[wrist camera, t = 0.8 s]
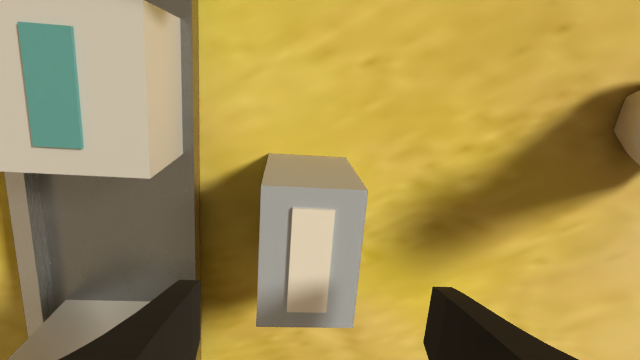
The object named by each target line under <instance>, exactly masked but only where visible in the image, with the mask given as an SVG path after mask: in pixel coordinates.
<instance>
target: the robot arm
mask: <svg viewBox="0 0 640 360" xmlns="http://www.w3.org/2000/svg"><path fill="white" fill-rule="evenodd" d="M199 343H200V280H178V281H177V282H175V283H174V284H173V285H171V286H170V287H169V288H167V289H166V290H165V291H164V292H162V293H161V294H160V295H158V296H157V297H156V298H155V299H153V300H152V301H151V302H149V303H148V304H147V305H145V306H144V307H143V308H141V309H140V310H139V311H137V312H136V313H134V314H133V315H132V316H130V317H129V318H127V319H126V320H124V321H123V322H121V323H120V324H118V325H117V326H115V327H114V328H112V329H111V330H109V331H108V332H106V333H105V334H103V335H101V336H100V337H98V338H97V339H95V340H93V341H91V342H90V343H88V344H86V345H84V346H83V347H81V348H79V349H77V350H75V351H74V352H72V353H70V354H68V355H66V356H64V357H62V358H60V359H58V360H196V356H197V352H198V347H199ZM423 343H424V346H425V349H426V352H427V355H428V359H429V360H578V359H576V358H574V357H572V356H570V355H568V354H566V353H564V352H562V351H560V350H558V349H556V348H554V347H552V346H550V345H548V344H546V343H544V342H542V341H541V340H539V339H537V338H535V337H533V336H532V335H530V334H528V333H526V332H525V331H523V330H521V329H519V328H518V327H516V326H514V325H513V324H511V323H510V322H508V321H506V320H505V319H503V318H501V317H500V316H498V315H497V314H495V313H493V312H492V311H490V310H489V309H487V308H486V307H484V306H482V305H481V304H479V303H478V302H476V301H475V300H473V299H471V298H470V297H468V296H466V295H465V294H463V293H461V292H460V291H458V290H456V289H454V288H452V287H433V289H432V295H431V301H430V306H429V312H428V318H427V324H426V330H425V336H424V342H423Z"/></svg>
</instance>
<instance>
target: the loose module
mask: <svg viewBox="0 0 640 360" xmlns="http://www.w3.org/2000/svg"><path fill="white" fill-rule="evenodd" d="M367 196H368V190H367V188H366V187H365V185H364V184H363V182H362V181H361V179H360V178H359V176H358V175H357V174H356V172H355V171H354V169H353V168H352V166H351V165H350V163H349V162H348V160H347V159H346V158H344V157H326V156H308V155H290V154H272V153H269V155H268V159H267V164H266V168H265V172H264V176H263V180H262V184H261V203H260V232H259V261H258V290H257V319H256V327H322V328H353V323H354V314H355V305H356V296H357V287H358V278H359V269H360V260H361V250H362V241H363V232H364V223H365V214H366V205H367Z"/></svg>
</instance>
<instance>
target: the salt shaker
mask: <svg viewBox="0 0 640 360" xmlns="http://www.w3.org/2000/svg"><path fill="white" fill-rule="evenodd" d="M613 132H614V133H615V135H616V136H617V138H618V140H619V141H620V143H621V145H622V146H623V148H624V149H625V151H626V153H627V154H628V156H629V157H631V158H632V159H633V160H634V161H635V162H636V163H637V164H638V165H639V166H640V90H639V91H637V92H635V93H633V94H631V95H629V96H627V97H626V98H625V100H624V103H623V106H622V108H621V111H620V113H619V116H618V119H617V121H616V124H615V127H614V129H613Z"/></svg>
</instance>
